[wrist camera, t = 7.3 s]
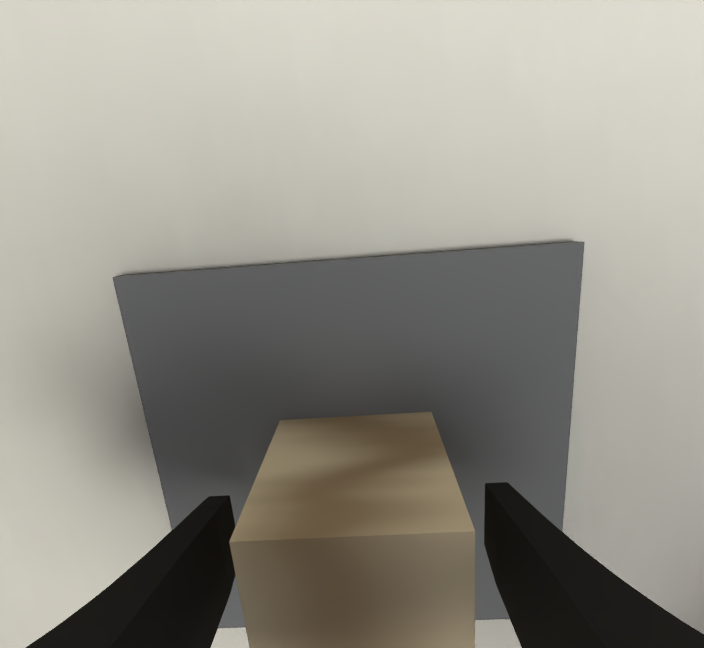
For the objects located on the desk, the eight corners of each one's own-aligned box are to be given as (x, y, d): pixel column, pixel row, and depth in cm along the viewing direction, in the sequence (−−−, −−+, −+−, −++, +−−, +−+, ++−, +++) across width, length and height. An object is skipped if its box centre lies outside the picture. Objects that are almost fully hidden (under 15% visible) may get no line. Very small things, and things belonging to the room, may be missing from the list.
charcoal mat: (574, 241, 11) (584, 242, 11) (549, 604, 15) (555, 617, 14) (122, 275, 12) (112, 277, 12) (200, 616, 16) (195, 628, 15)
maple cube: (431, 411, 12) (475, 531, 8) (434, 537, 14) (474, 708, 9) (279, 420, 13) (229, 541, 8) (297, 543, 14) (262, 713, 9)
